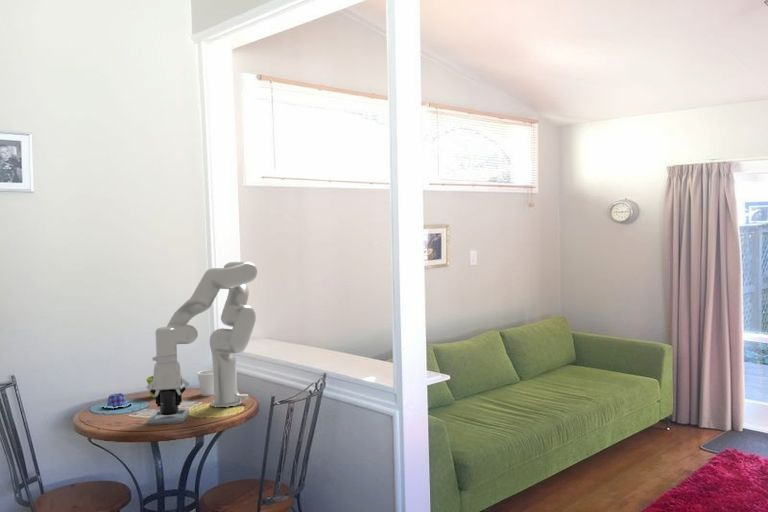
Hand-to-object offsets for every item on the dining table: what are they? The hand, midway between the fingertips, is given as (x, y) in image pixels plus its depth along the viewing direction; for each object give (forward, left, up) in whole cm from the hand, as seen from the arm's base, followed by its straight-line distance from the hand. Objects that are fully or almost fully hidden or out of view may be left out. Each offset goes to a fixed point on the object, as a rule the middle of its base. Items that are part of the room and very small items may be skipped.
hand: (169, 404), depth 258 cm
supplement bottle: (0, 0, -3) cm, 3 cm away
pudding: (+26, -26, -6) cm, 38 cm away
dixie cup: (-9, -39, -6) cm, 40 cm away
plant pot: (+13, -40, -6) cm, 43 cm away
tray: (0, 0, -6) cm, 6 cm away
